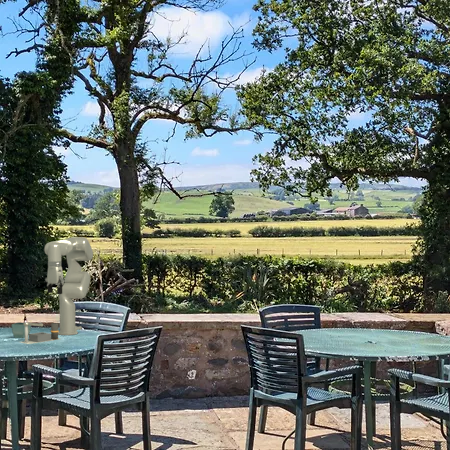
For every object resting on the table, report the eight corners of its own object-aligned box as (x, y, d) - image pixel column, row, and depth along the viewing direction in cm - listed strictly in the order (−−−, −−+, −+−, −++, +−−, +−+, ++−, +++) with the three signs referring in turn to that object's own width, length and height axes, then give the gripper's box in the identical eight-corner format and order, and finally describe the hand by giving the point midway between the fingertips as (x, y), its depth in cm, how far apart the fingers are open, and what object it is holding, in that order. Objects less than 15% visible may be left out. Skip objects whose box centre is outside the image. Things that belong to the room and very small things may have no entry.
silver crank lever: (22, 325, 398) (22, 321, 398) (26, 324, 401) (26, 321, 401) (40, 326, 393) (40, 323, 393) (44, 326, 396) (44, 322, 396)
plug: (55, 338, 416) (55, 322, 416) (60, 338, 413) (60, 323, 413) (48, 338, 412) (49, 323, 412) (53, 339, 409) (53, 324, 409)
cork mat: (55, 338, 416) (55, 337, 416) (61, 339, 412) (61, 338, 412) (48, 339, 412) (48, 338, 412) (54, 340, 409) (54, 339, 409)
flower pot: (24, 339, 413) (24, 324, 413) (11, 339, 415) (11, 324, 415) (31, 337, 422) (31, 322, 422) (18, 337, 424) (18, 322, 424)
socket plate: (43, 339, 414) (43, 322, 414) (53, 341, 407) (53, 323, 407) (18, 343, 401) (18, 325, 401) (28, 345, 394) (28, 326, 394)
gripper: (68, 264, 410) (69, 294, 410) (51, 263, 421) (51, 292, 421) (58, 265, 404) (58, 295, 404) (40, 264, 416) (40, 293, 416)
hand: (54, 293), depth 413 cm, fingers open, 9 cm apart
